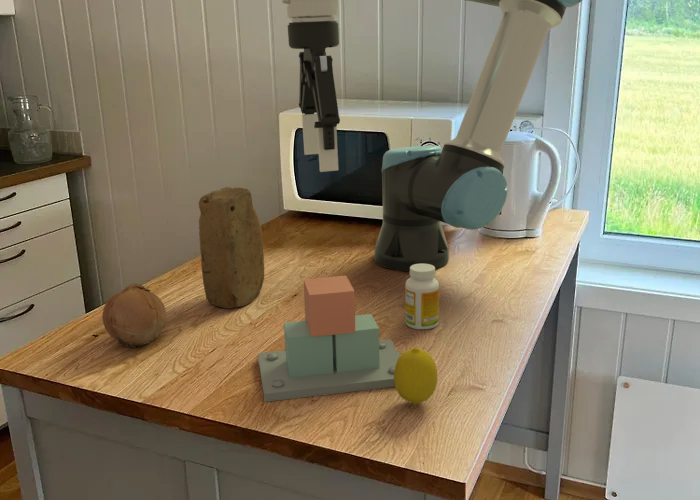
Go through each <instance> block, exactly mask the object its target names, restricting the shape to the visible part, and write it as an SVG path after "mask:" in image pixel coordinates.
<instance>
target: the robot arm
mask: <svg viewBox="0 0 700 500" xmlns="http://www.w3.org/2000/svg"><path fill="white" fill-rule="evenodd" d="M465 1H467V2H474V3H479V4H484V5H489V6H493V7H499V9H500V10H501V13H502V17H501V19H500V20H501V21H500V22H499V25H498V26H497V27H498V28H497V30H496V33H495V36H494V38H493V41H492V43H491V46H490V48H489V50H488V53H487V56H486V58H485V62H484V64H483V66H482V70H481V71H480V73H479V77H478V79H477V82H476V84H475V87H474V90H473V93H472V95H471V98H470V99H469V100H470V101H469V103H468V105H467V108H466V110H465V113H464V116H463V118H462V121H461V123H460V125H459V129H458V131H457V134H456V135H455V137H454V138H453V139H451V140H449V141H446V142H445V143H444V145H443V147H441V146H440V145H417V146H407V147H406V146H405V147H398V148H393V149H389V150H387V151H385V153H384V154H383V157H382V166H381V171H380V172H381V179H382V181H381V182H382V184H381V185H382V189H381V190H382V225H381V227H380V230H379V234H378V237H377V240H376V243H375V247H374V261H375V263H376V264H377V265H379V266H381V267H383V268H386V269H389V270H396V271H403V272H410V266H412V265H414V264H421V263H423V264H430V265H433V266H434V267H435V269H438V268H441V267H443V266H445V265H446V264H448V262H449V261H450V259H449V258H450V256H449V255H450V249H449V246H448V243H447V239H446V236H445V232H444V229H443V226H442V223H444V224H447V225H449V226H452V227H453V228H456V229H457V228H458V229H465V230H471V231H472V230H479V229H483V228H484V227H485V226H487V225H489V224H491V223H492V222H493V221H495V220H496V218H497V217H498V216H499V215H500V213H501V211H502V210H503V208H504V207H505V204H506V201H507V197H508V189H507V186H508V183H507V179H506V177H505V176H504V174H503V171H504V168H505V167H506V166H505V165H506V164H505V162H504V160H503V158H502V154H501V153H502V151H503V148H504V145H505V143H506V140H507V138H508V135H509V133H510V130H511V127H512V126H513V122H514V120H515V117H516V114H517V111H518V110H519V107H520V104H521V102H522V99H523V97H524V95H525V92H526V89H527V87H528V84H529V82H530V78H531V76H532V74H533V71H534V68H535V66H536V64H537V60H538V58H539V56H540V53H541V50H542V48H543V45H544V43H545V40H546V38H547V34H548V33H549V31H550V30H552V29H554V28H556V27H558V26H560V24H561V23H562V20H563V17H564V15H565V12H566V10H567V8H572V7H574V6H577V5H578V4H579V3H582V2H583V0H465ZM281 3H282V4H284V5H286V17H287V18H289V19H291V22H288V24H287V36H288V37H287V38H288V47H289V48H290V49H293V50H294V49H295V50H303V51H299V53H298V58H299V90H298V91H299V94H298V95H299V97H298V98H299V100H298V106H299V109H300V112H301V121H302V122H301V123H302V137H303V151H304V152H303V153H304V156H307V155H310V156H311V155H318V163H319V164H318V165H319V167H318V168H319V172H320V173H323V172H334V171H339V155H338V153H339V152H338V151H339V150H338V132H337V130H338V129H337V128H338V127H337V126H338V125H339V124H340V122H341V119H340V118H341V117H340V113H339V106H338V100H337V93H336V85H335V79H334V69H333V62H334V61H333V57H332V55H327V52H326V49H327V48H335V47H338V46H339V44H340V32H339V31H340V28H339V22H338V20H335V17H338V15H339V0H281Z"/></svg>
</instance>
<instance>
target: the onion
mask: <svg viewBox="0 0 700 500" xmlns="http://www.w3.org/2000/svg"><path fill="white" fill-rule="evenodd" d="M166 311H167V310H166V308H165V305H164V303H163V301H162V300H161V298H160V297H159V296H157V295H156V294H155V293H153V292H152V291H151V290H150V289H148V288H147V287H145V286H143V285H142V284H138V283H132V284H131V283H130V284H129V286H126V287H125V288H124V289H122V290H120V291H119V292H117V293H116V294H114V295H112V296H111V297H109V299H108V300H107V301H106V302H105V305H104V306H103V310H102V316H101V318H102V324H103V326H104V329H105V330H106V332H107V333H108V334H109V336H111V338H112V339H113V340H115V341H117V342H118V343H119V344H121V345H123V346H125V347H133V348H134V349H136V348H137V347H138V346H141V347H142V346H144V345H145V344H147V345H148V344H151V342H152V341H155V339H158V336H160V335H161V333H162V330H163V329H164V328H165V326H166V319H167V312H166Z"/></svg>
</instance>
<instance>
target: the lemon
mask: <svg viewBox="0 0 700 500" xmlns="http://www.w3.org/2000/svg"><path fill="white" fill-rule="evenodd" d="M394 382H395V390H396V392H397V393H398V394H399V396H400V397H401V398H402V399H403V400H405V401H407V402H410V403H411V404H413V405H416V406H417V405H418V404H420V403H423V402H425V401H427V400H428V399H429V398H431V397H432V396H433V395H434V393H435V391H436V388H437V384H438V369H437V365H436V362H435V359H434V358H433V356H432V355H431V354H430V353H429V352H427V351H426V350H424V349H421V348H419V347H418V346H417V347H416V346H415V347H413V348H410V349H408V350H405V351H403V352H402V354H400V357H399V358H398V360H397V363H396V366H395V370H394Z"/></svg>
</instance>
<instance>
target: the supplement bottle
mask: <svg viewBox="0 0 700 500" xmlns="http://www.w3.org/2000/svg"><path fill="white" fill-rule="evenodd" d="M435 277H436V268H435V267H434V266H433V265H430V264H423V263H421V264H414V265H412V266H410V271H409V278H408V279H406V281H405V285H404V287H405V288H404V289H405V290H404V291H405V294H404V295H405V299H404V301H405V303H404V304H405V305H404V307H405V309H404V311H405V315H404V316H405V317H404V318H405V324H406V326H408V327H409V328H410V329H414V330H430V329H433V328H436V327H437V325H438V324H439V323H440V322H439V319H440V312H439V311H440V283H439V281H438V280H437V279H436V278H435Z"/></svg>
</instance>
